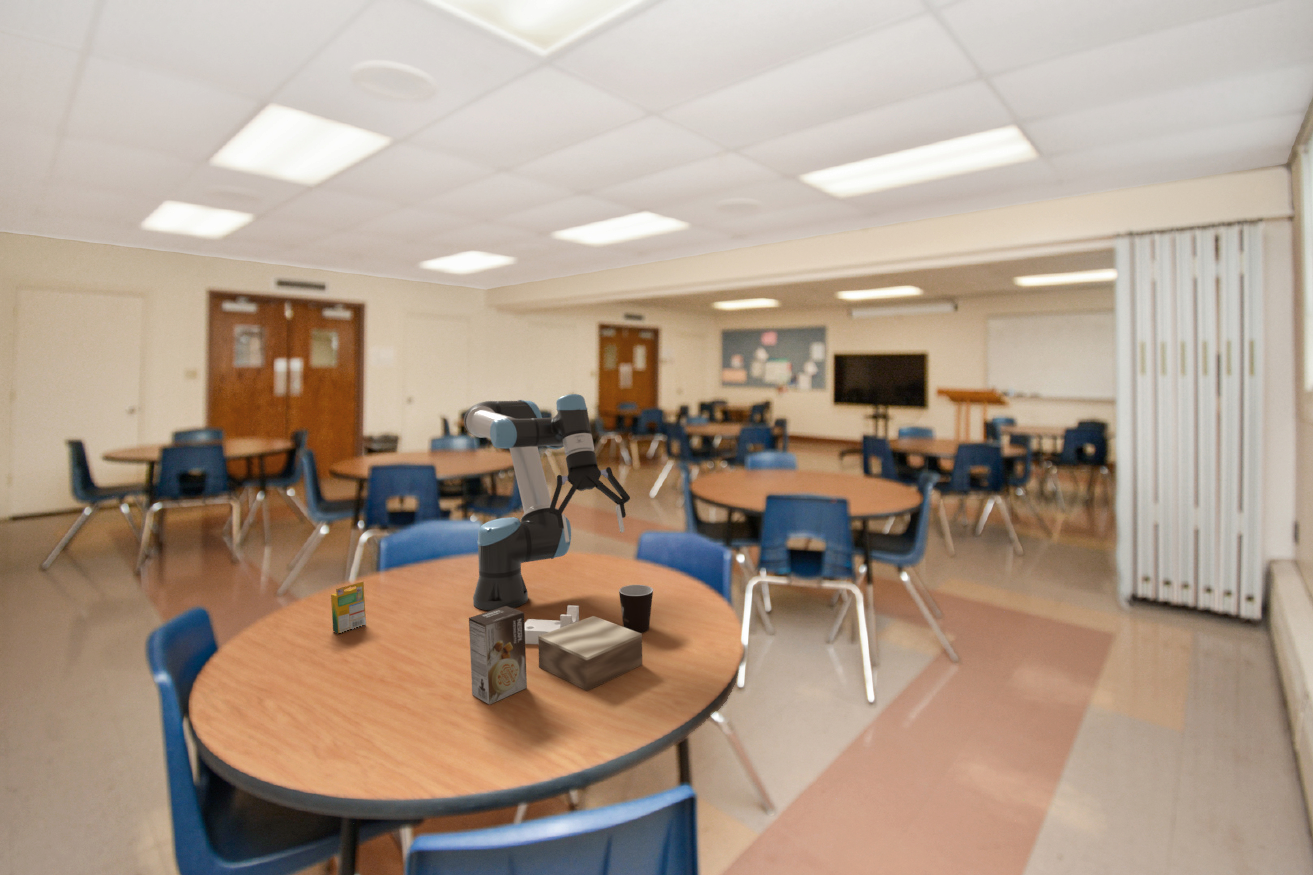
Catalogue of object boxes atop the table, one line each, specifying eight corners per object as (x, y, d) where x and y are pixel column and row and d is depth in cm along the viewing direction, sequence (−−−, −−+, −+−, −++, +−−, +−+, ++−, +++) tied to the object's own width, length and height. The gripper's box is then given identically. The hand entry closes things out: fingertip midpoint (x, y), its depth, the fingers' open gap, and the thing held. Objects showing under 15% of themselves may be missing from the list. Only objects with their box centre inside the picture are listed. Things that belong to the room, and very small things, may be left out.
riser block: (538, 667, 136) (538, 636, 135) (593, 644, 147) (593, 615, 147) (587, 690, 125) (586, 657, 124) (642, 664, 137) (641, 633, 136)
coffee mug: (649, 636, 152) (649, 596, 151) (615, 633, 154) (615, 594, 153) (658, 619, 163) (658, 582, 162) (627, 616, 165) (626, 580, 164)
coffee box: (509, 678, 130) (507, 604, 129) (527, 688, 126) (526, 611, 125) (470, 695, 124) (468, 616, 122) (488, 705, 119) (486, 625, 118)
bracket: (579, 635, 154) (578, 605, 153) (571, 647, 147) (570, 616, 146) (528, 632, 155) (528, 603, 155) (518, 644, 148) (517, 613, 148)
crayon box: (360, 622, 162) (358, 579, 161) (366, 625, 160) (364, 581, 159) (332, 631, 156) (330, 586, 155) (338, 634, 154) (336, 589, 153)
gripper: (530, 457, 150) (544, 543, 145) (630, 442, 156) (647, 524, 151) (530, 465, 157) (543, 547, 152) (625, 450, 163) (642, 529, 158)
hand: (595, 536), depth 151 cm, fingers open, 13 cm apart
